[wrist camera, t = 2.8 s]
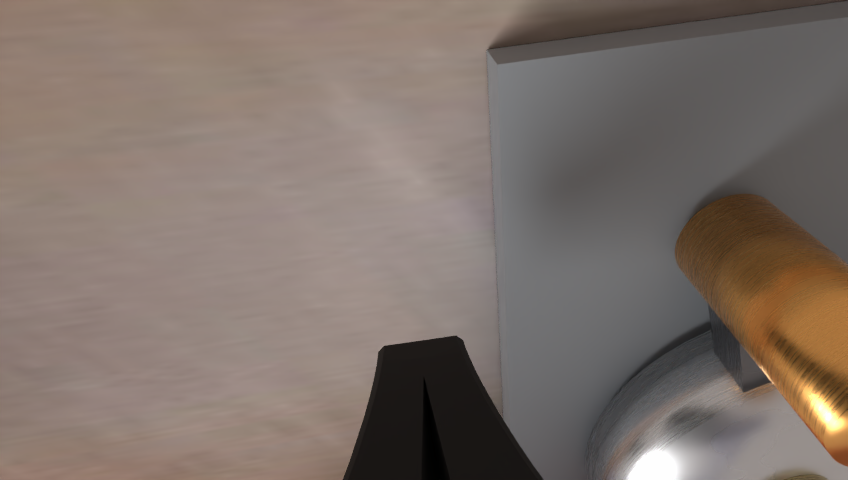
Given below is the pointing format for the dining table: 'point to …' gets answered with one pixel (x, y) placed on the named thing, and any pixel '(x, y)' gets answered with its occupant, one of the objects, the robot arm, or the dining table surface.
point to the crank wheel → (741, 362)
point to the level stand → (644, 193)
